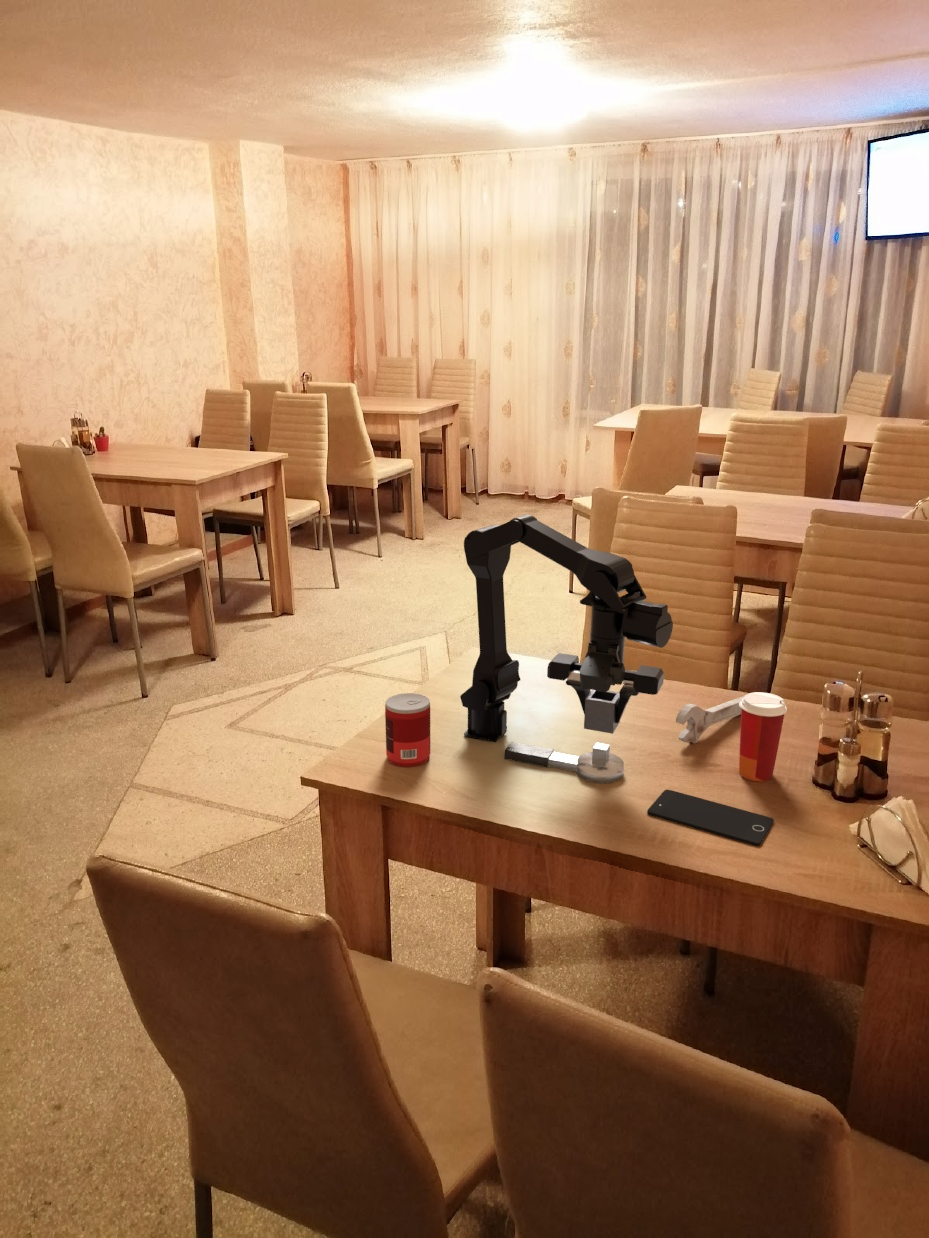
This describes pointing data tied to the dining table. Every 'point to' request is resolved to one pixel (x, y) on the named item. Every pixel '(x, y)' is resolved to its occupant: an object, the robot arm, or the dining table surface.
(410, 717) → the canned food
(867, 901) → the dining table surface
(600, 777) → the ratchet
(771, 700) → the paper cup
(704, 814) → the cell phone
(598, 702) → the socket
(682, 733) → the wrench
